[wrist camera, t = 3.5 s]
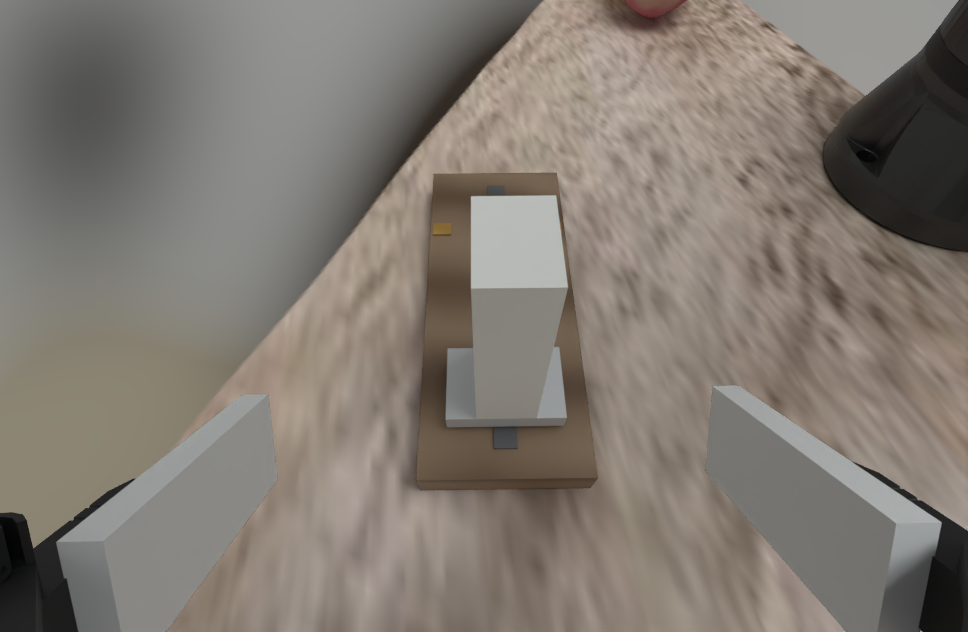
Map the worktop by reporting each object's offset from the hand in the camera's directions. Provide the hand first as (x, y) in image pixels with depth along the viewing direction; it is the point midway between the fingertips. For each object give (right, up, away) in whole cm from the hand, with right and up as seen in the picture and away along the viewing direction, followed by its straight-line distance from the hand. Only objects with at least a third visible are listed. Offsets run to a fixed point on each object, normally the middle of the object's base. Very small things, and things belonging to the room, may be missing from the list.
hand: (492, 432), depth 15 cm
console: (+1, +4, +18) cm, 18 cm away
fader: (+1, 0, +12) cm, 12 cm away
